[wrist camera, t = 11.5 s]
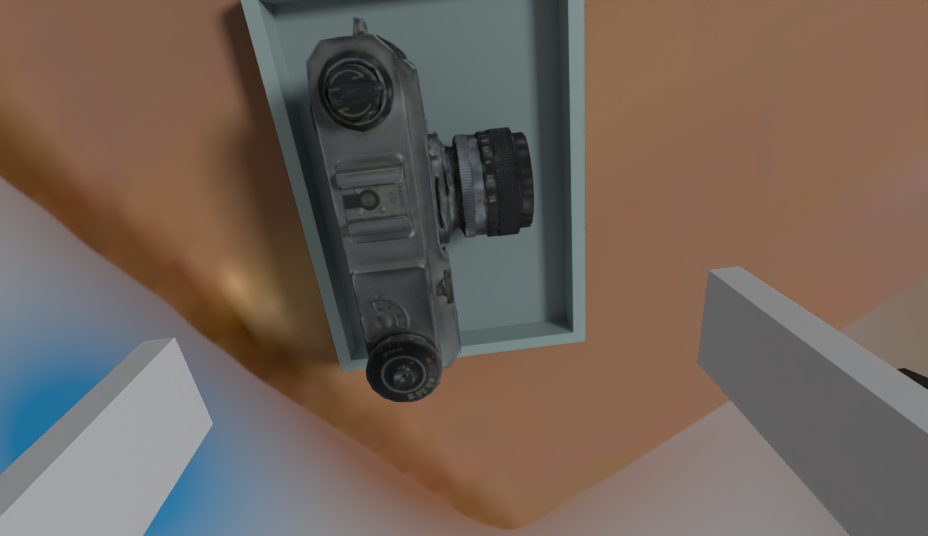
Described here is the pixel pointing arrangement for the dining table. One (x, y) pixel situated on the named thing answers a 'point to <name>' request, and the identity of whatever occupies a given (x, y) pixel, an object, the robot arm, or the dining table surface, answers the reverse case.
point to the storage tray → (451, 113)
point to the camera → (406, 203)
